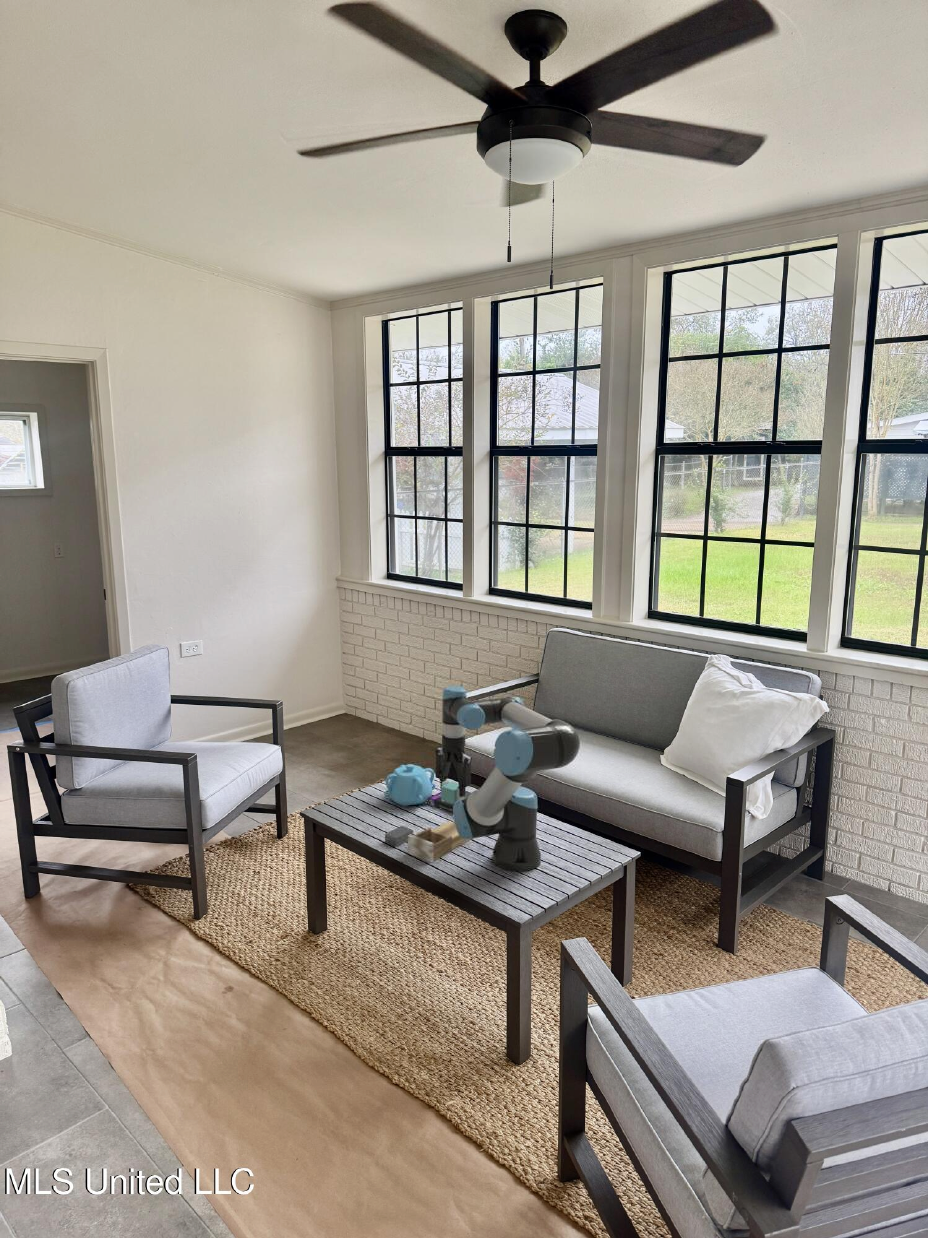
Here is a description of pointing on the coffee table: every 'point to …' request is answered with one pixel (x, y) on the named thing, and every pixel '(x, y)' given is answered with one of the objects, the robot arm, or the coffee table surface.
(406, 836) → the dark grey block
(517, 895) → the coffee table surface
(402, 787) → the decorative pot
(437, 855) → the drawer
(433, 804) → the box
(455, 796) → the block
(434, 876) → the coffee table surface
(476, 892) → the coffee table surface
